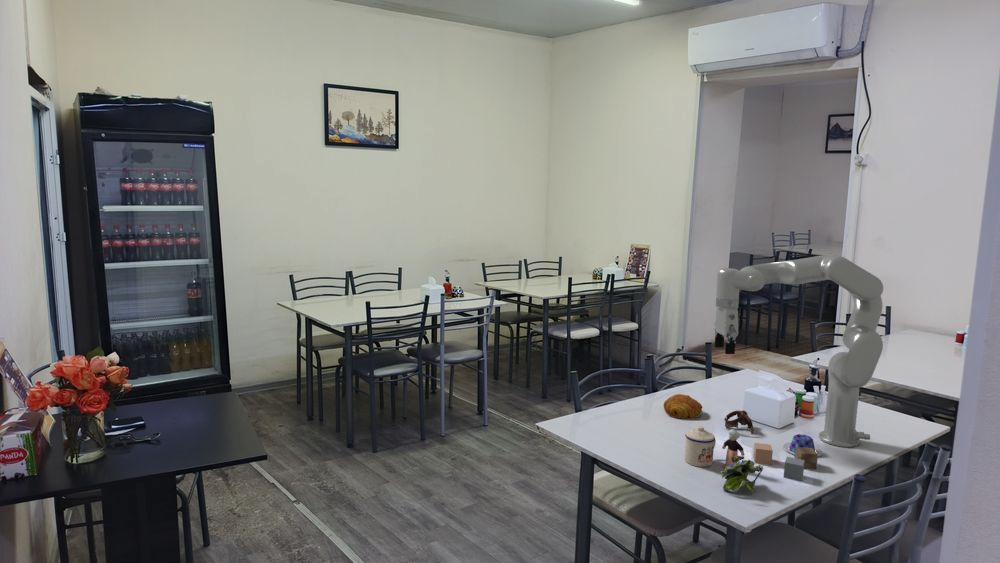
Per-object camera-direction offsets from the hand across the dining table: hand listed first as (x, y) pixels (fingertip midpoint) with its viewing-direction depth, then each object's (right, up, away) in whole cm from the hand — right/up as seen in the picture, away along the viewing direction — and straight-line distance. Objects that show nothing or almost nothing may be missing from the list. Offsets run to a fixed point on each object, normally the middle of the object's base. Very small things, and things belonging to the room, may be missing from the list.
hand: (724, 350), depth 228 cm
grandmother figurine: (-7, -35, -27) cm, 44 cm away
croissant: (-8, -27, +22) cm, 36 cm away
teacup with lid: (-15, -34, -21) cm, 43 cm away
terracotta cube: (+5, -34, -21) cm, 40 cm away
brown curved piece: (+8, -30, +6) cm, 32 cm away
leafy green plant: (-9, -37, -41) cm, 55 cm away
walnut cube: (+18, -34, -23) cm, 45 cm away
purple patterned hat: (+22, -33, -12) cm, 42 cm away
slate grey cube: (+10, -35, -32) cm, 49 cm away
